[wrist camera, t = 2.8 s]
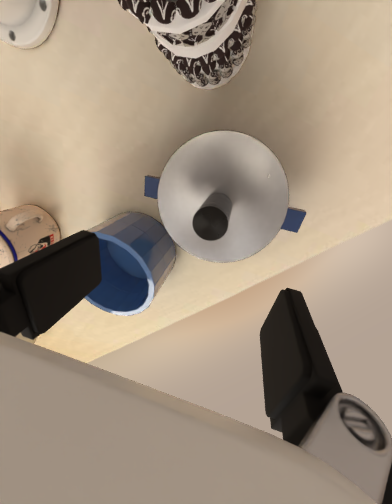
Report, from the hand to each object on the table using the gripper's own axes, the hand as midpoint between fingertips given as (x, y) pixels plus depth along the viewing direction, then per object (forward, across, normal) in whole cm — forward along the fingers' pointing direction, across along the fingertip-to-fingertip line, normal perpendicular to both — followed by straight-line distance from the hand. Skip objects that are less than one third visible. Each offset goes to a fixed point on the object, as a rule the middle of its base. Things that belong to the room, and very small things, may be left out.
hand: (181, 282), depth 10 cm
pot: (+20, +12, +11) cm, 26 cm away
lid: (+14, 0, -1) cm, 14 cm away
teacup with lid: (+20, +31, +12) cm, 38 cm away
